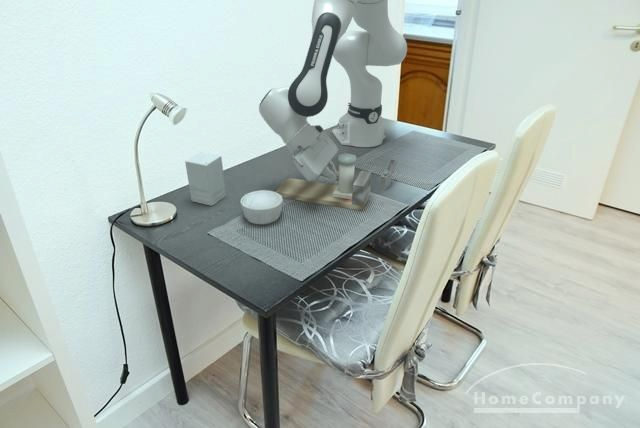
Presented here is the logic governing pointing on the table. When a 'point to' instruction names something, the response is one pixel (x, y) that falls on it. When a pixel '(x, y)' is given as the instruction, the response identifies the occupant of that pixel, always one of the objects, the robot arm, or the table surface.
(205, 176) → the supplement box
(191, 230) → the table surface
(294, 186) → the rail mount
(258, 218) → the ramekin
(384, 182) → the lighter
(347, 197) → the white upright cylinder
